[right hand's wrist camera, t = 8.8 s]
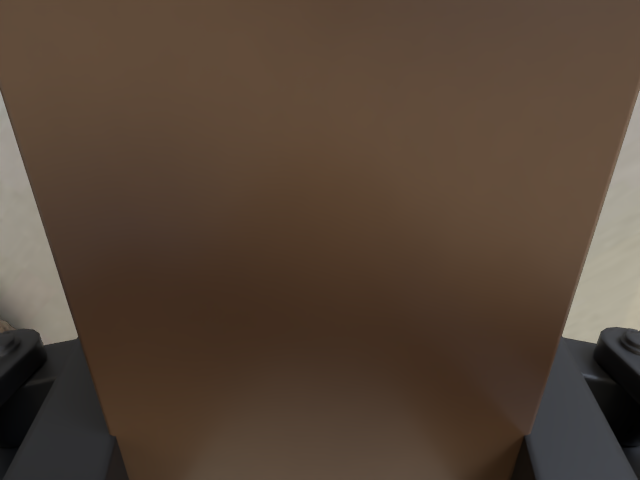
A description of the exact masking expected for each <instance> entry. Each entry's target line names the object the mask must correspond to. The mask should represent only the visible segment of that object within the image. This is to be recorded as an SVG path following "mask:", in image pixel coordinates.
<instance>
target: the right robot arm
mask: <svg viewBox="0 0 640 480" xmlns="http://www.w3.org/2000/svg"><path fill="white" fill-rule="evenodd" d="M0 480H129V477H128V474H127V471H126V468H125V464H124V461H123V458H122V455H121V451H120V448H119V445H118V442H117V438H116V436H112V435H110V434H109V431H108V428H107V425H106V422H105V419H104V416H103V412H102V409H101V406H100V403H99V400H98V397H97V394H96V390H95V387H94V384H93V381H92V378H91V375H90V371H89V368H88V365H87V362H86V359H85V356H84V352H83V349H82V346H81V343H80V340H79V337H78V338H77V339H75V340H70V341H65V342H59V343H54V344H49V345H43V343H42V340H41V337H40V334H39V333H38V332H36V331H35V330H31V329H18V330H9V331H4V332H3V333H1V332H0ZM511 480H640V331H638V330H635V329H630V328H628V329H627V328H620V327H613V328H606V329H604V330H603V331H601V333H600V336H599V339H598V342H597V344H594V343H589V342H584V341H578V340H573V339H568V338H563V337H562V336H561V339H560V342H559V345H558V349H557V352H556V355H555V358H554V361H553V364H552V368H551V371H550V374H549V377H548V380H547V383H546V387H545V390H544V393H543V396H542V399H541V402H540V405H539V409H538V412H537V415H536V418H535V421H534V424H533V428H532V431H531V434H529V435H524V438H523V441H522V445H521V448H520V451H519V454H518V458H517V461H516V464H515V467H514V471H513V474H512V477H511Z"/></svg>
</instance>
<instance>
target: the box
mask: <svg viewBox="0 0 640 480" xmlns="http://www.w3.org/2000/svg"><path fill="white" fill-rule="evenodd" d="M0 90H1V94H2V97H3V100H4V103H5V106H6V109H7V113H8V116H9V119H10V122H11V125H12V128H13V131H14V135H15V138H16V141H17V144H18V147H19V150H20V154H21V157H22V160H23V163H24V166H25V169H26V173H27V176H28V179H29V182H30V185H31V188H32V191H33V195H34V198H35V201H36V204H37V207H38V210H39V214H40V217H41V220H42V223H43V226H44V229H45V233H46V236H47V239H48V242H49V245H50V248H51V251H52V255H53V258H54V261H55V264H56V267H57V270H58V274H59V277H60V280H61V283H62V286H63V289H64V293H65V296H66V299H67V302H68V305H69V308H70V311H71V315H72V318H73V321H74V324H75V327H76V330H77V334H78V337H79V340H80V343H81V346H82V349H83V352H84V356H85V359H86V362H87V365H88V368H89V371H90V375H91V378H92V381H93V384H94V387H95V390H96V394H97V397H98V400H99V403H100V406H101V409H102V412H103V416H104V419H105V422H106V425H107V428H108V431H109V434H110V435H112V436H116V438H117V442H118V445H119V448H120V451H121V455H122V458H123V461H124V464H125V468H126V471H127V474H128V477H129V480H511V477H512V474H513V471H514V467H515V464H516V461H517V458H518V454H519V451H520V448H521V445H522V441H523V438H524V435H529V434H531V431H532V428H533V424H534V421H535V418H536V415H537V412H538V409H539V405H540V402H541V399H542V396H543V393H544V390H545V387H546V383H547V380H548V377H549V374H550V371H551V368H552V364H553V361H554V358H555V355H556V352H557V349H558V345H559V342H560V339H561V336H562V333H563V330H564V327H565V323H566V320H567V317H568V314H569V311H570V308H571V304H572V301H573V298H574V295H575V292H576V289H577V286H578V282H579V279H580V276H581V273H582V270H583V267H584V263H585V260H586V257H587V254H588V251H589V248H590V244H591V241H592V238H593V235H594V232H595V229H596V226H597V222H598V219H599V216H600V213H601V210H602V207H603V203H604V200H605V197H606V194H607V191H608V188H609V184H610V181H611V178H612V175H613V172H614V169H615V166H616V162H617V159H618V156H619V153H620V150H621V147H622V143H623V140H624V137H625V134H626V131H627V128H628V125H629V121H630V118H631V115H632V112H633V109H634V106H635V102H636V99H637V96H638V93H639V90H640V0H0Z"/></svg>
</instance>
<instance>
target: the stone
mask: <svg viewBox="0 0 640 480" xmlns="http://www.w3.org/2000/svg"><path fill="white" fill-rule="evenodd" d="M9 330H17V329H15V328H13V327H11V326H10V325H9V323H8V322H7V321H2V320H0V332H1V333H3V332H4V331H9Z"/></svg>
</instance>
